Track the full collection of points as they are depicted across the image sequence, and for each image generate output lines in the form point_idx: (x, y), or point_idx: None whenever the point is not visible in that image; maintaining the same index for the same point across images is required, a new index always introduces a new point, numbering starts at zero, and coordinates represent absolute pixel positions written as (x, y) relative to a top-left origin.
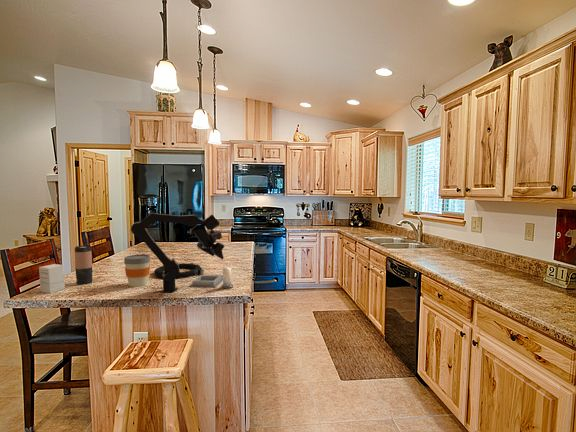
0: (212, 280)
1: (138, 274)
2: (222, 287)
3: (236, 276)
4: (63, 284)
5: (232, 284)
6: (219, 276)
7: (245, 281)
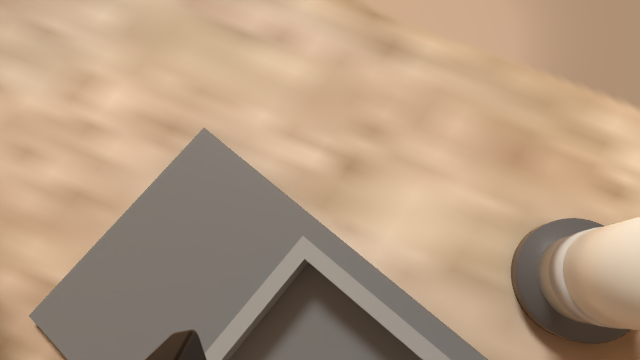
0: (296, 332)
1: None
2: (602, 340)
3: (262, 69)
4: None
5: (572, 219)
6: (317, 256)
7: (461, 64)
